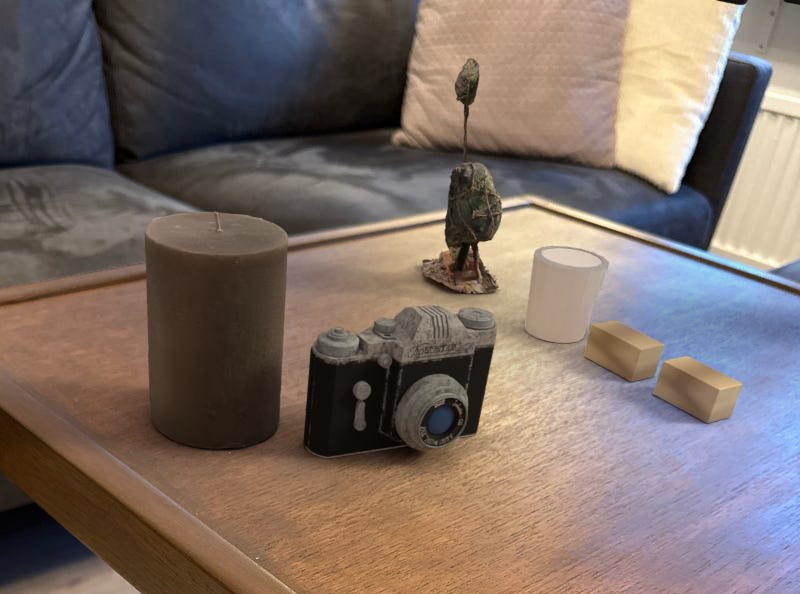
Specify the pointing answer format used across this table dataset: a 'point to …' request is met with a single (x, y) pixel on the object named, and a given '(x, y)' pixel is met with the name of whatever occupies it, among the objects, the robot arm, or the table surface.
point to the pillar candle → (215, 327)
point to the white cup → (563, 292)
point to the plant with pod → (467, 211)
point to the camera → (399, 382)
